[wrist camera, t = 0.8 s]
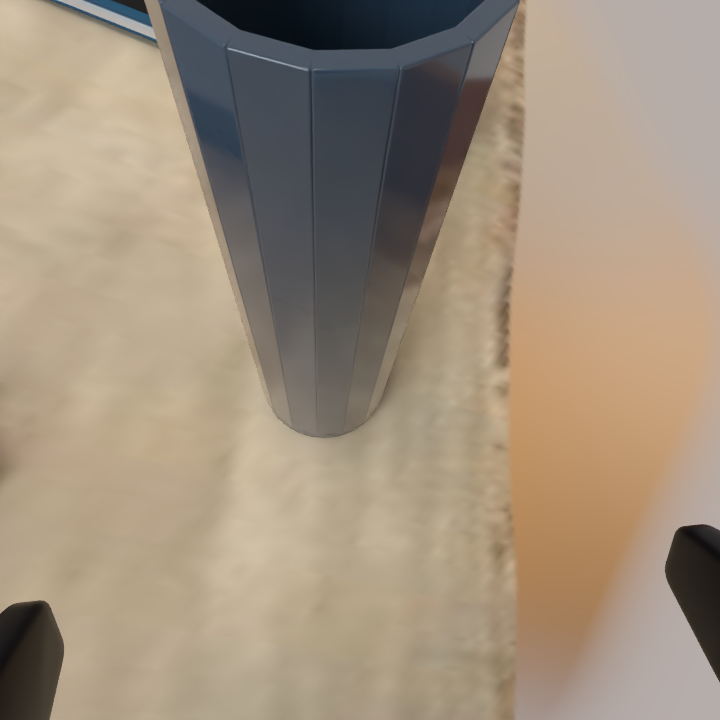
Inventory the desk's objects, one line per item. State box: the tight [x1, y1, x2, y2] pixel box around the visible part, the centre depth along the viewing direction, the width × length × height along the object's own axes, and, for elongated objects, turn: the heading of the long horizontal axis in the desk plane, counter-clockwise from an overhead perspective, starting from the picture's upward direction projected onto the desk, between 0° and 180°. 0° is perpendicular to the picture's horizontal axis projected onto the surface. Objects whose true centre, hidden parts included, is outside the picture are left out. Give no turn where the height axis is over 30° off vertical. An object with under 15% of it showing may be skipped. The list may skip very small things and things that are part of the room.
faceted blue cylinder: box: [144, 0, 520, 437], centre depth 16 cm, size 5×5×18 cm
